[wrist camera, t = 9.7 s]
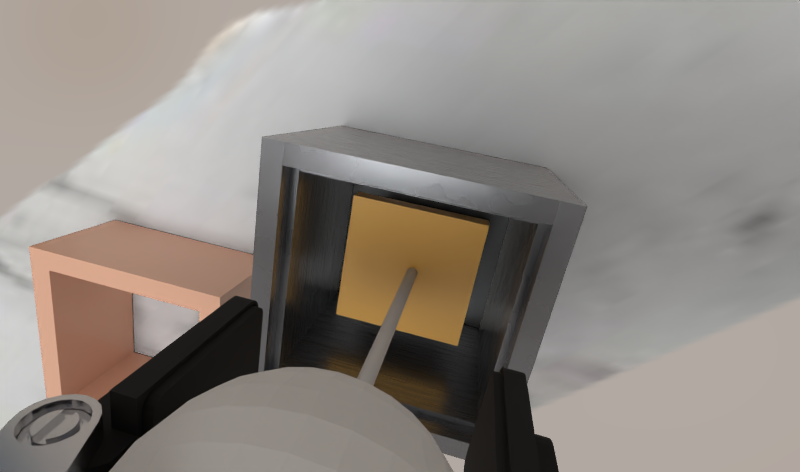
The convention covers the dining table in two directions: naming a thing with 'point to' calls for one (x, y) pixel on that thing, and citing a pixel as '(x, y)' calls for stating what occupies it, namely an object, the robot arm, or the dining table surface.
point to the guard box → (323, 251)
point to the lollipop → (294, 422)
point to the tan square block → (410, 265)
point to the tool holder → (119, 297)
